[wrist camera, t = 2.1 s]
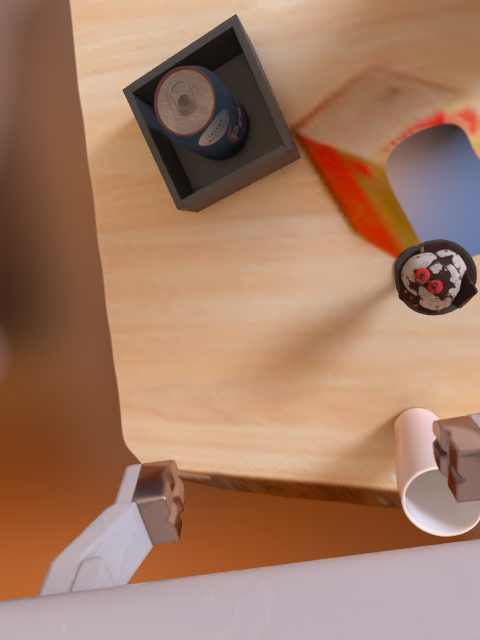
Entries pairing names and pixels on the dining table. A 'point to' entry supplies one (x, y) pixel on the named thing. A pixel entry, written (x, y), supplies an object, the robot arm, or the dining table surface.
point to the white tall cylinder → (427, 479)
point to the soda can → (200, 113)
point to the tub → (249, 89)
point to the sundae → (435, 277)
